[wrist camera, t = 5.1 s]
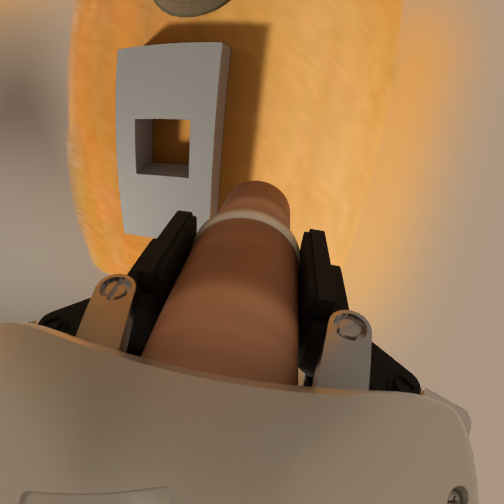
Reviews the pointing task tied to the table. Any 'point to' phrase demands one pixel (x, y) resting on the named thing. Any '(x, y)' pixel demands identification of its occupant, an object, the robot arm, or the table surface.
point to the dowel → (236, 294)
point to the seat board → (169, 107)
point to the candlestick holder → (189, 7)
